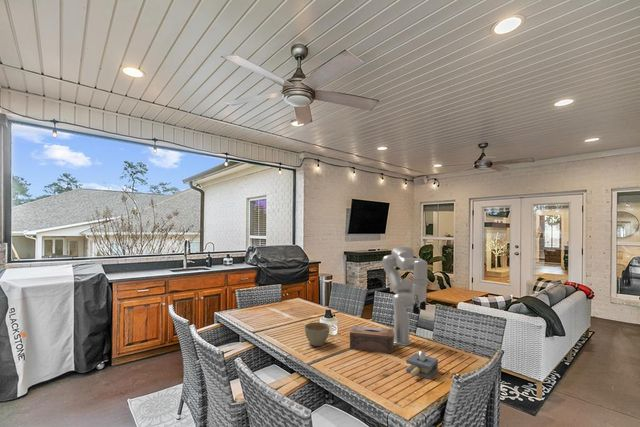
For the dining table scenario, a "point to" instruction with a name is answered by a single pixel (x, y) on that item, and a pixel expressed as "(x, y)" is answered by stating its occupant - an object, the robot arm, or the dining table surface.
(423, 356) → the steel pin
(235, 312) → the dining table surface
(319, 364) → the dining table surface
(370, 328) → the tissue box cover
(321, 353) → the dining table surface
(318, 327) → the planter bowl
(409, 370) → the clevis bracket
